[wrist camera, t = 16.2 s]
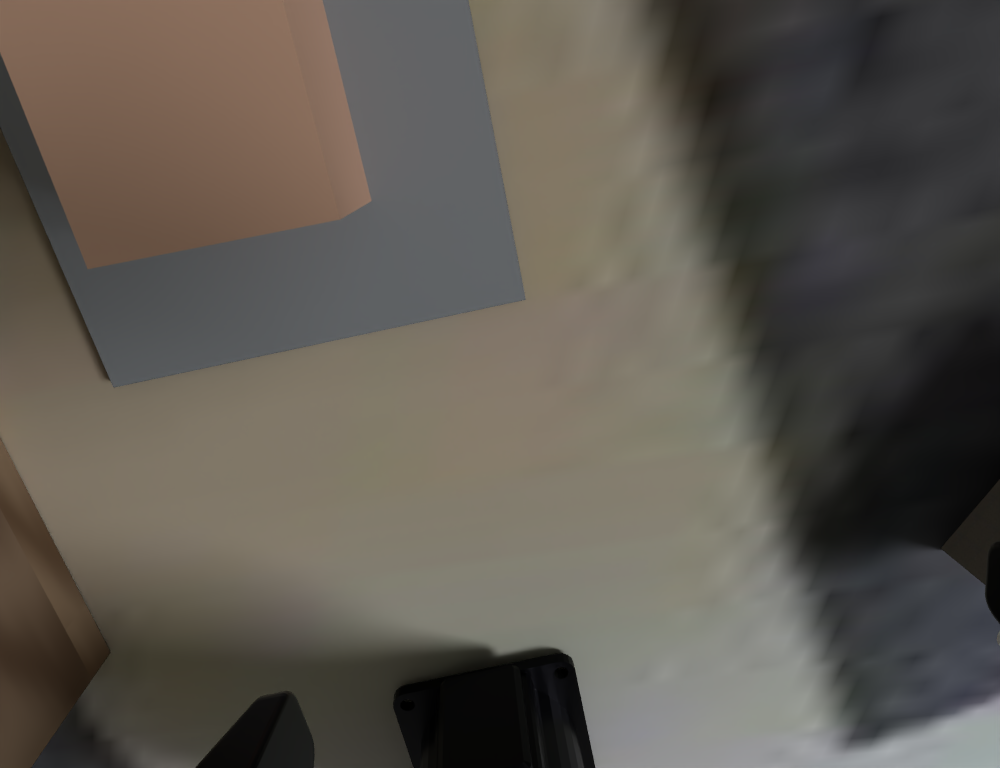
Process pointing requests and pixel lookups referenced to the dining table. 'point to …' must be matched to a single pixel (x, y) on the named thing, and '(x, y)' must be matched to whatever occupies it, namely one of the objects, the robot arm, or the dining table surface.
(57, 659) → the brown open box
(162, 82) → the block
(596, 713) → the dining table surface
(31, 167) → the mat
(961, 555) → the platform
